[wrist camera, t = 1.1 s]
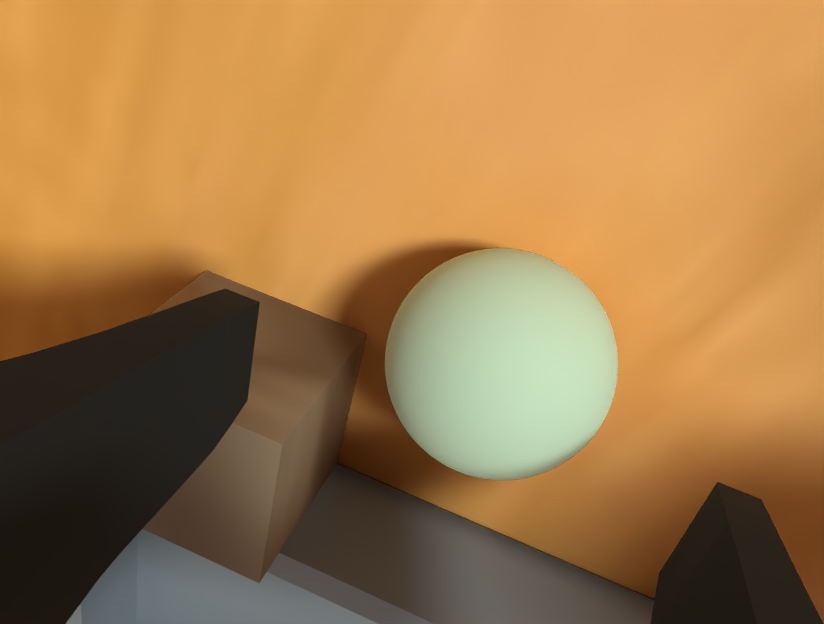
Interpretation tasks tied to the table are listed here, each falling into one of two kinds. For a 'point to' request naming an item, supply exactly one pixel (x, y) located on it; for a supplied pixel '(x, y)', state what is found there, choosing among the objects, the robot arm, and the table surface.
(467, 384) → the green ball
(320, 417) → the walnut cube
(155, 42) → the table surface
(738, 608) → the robot arm
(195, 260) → the table surface
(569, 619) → the serving tray
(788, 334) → the table surface
